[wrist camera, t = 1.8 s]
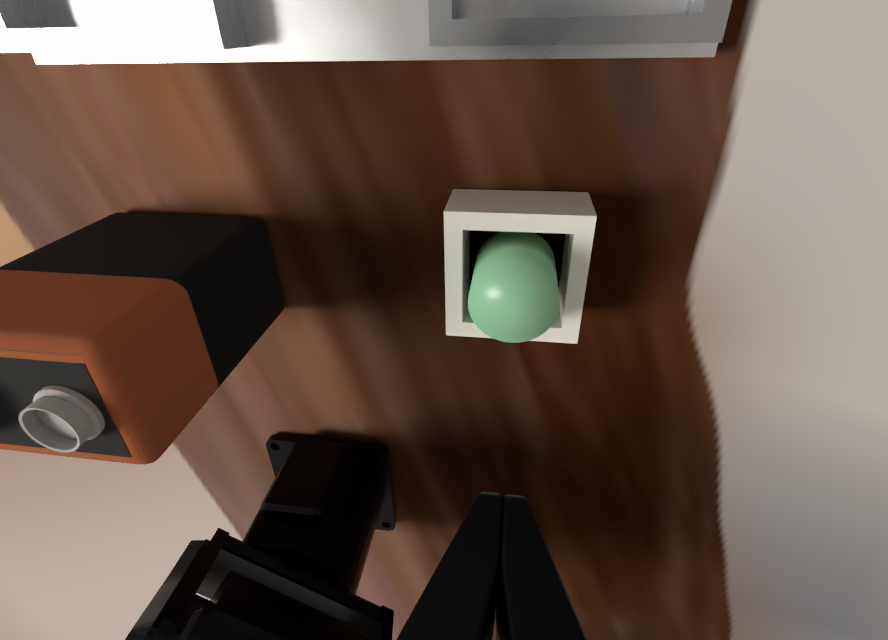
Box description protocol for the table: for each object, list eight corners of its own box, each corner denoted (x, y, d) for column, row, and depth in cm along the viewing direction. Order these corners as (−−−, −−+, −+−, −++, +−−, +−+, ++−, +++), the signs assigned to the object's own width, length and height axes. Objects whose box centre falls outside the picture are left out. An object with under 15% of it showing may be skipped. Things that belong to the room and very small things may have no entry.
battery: (113, 208, 20) (-191, 347, 11) (269, 213, 19) (64, 369, 10) (149, 300, 22) (-82, 473, 14) (290, 309, 21) (135, 500, 13)
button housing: (571, 309, 19) (577, 343, 17) (454, 302, 20) (446, 334, 18) (588, 192, 17) (596, 216, 15) (453, 189, 17) (443, 211, 15)
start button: (551, 302, 18) (554, 345, 15) (475, 297, 18) (467, 339, 16) (559, 230, 16) (564, 265, 14) (476, 227, 17) (468, 261, 14)
